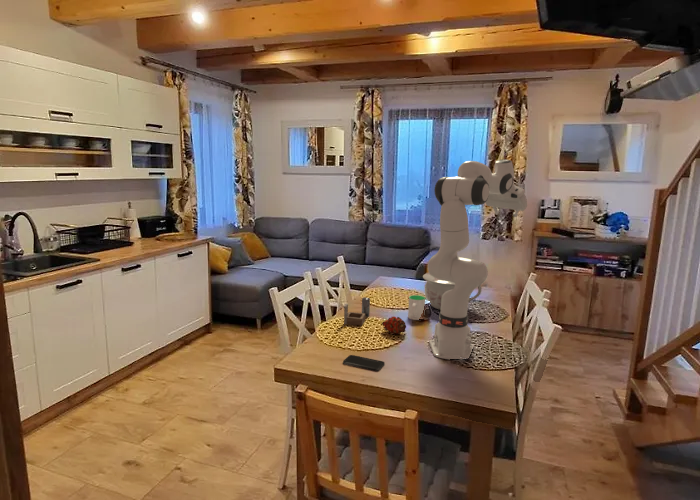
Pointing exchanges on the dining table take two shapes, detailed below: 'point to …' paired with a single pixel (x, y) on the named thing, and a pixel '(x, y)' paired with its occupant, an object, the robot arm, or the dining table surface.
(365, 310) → the steel toggle
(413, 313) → the mug
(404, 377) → the dining table surface
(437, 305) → the chamber pot
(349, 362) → the phone
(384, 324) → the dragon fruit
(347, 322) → the keeper
